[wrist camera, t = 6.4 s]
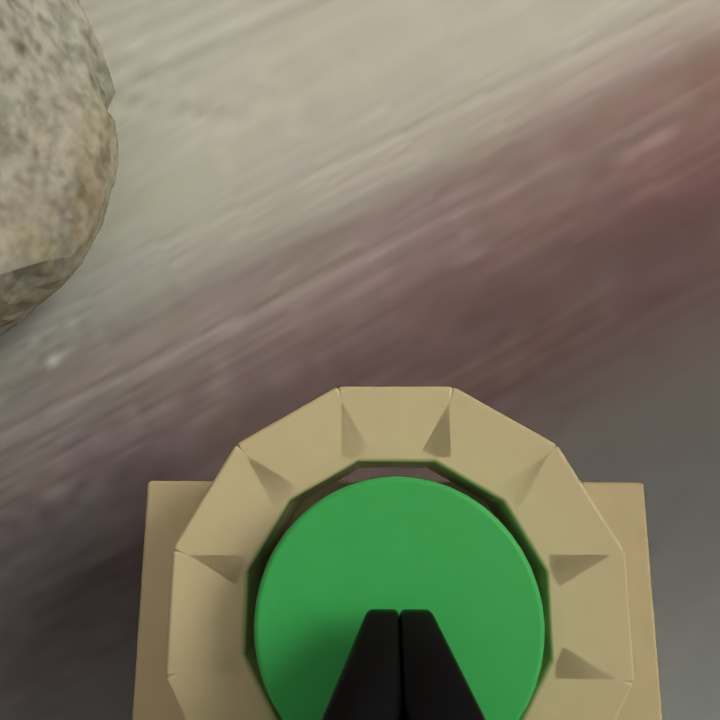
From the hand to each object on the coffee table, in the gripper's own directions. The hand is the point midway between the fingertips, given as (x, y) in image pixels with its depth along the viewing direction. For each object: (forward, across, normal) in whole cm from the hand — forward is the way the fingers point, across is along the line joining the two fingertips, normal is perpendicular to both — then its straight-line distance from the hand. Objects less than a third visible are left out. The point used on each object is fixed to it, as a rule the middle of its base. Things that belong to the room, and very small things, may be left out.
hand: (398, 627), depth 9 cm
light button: (+2, 0, +2) cm, 3 cm away
